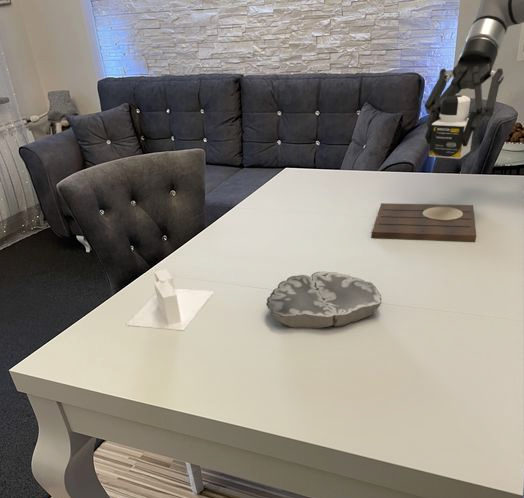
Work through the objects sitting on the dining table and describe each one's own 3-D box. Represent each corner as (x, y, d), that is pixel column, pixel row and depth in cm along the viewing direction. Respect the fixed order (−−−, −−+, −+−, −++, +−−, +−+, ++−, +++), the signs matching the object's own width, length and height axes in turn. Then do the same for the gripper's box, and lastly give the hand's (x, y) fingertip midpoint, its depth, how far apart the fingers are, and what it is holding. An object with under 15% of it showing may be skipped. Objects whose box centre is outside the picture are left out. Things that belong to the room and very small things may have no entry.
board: (472, 211, 130) (473, 204, 129) (475, 241, 114) (476, 234, 113) (380, 208, 136) (380, 202, 135) (371, 238, 120) (371, 230, 119)
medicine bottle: (428, 156, 120) (433, 98, 114) (439, 149, 125) (445, 93, 119) (460, 159, 117) (467, 99, 110) (470, 151, 121) (478, 93, 115)
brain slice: (358, 280, 103) (358, 266, 101) (391, 323, 89) (392, 307, 87) (258, 294, 101) (256, 280, 99) (275, 340, 86) (274, 324, 85)
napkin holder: (184, 330, 91) (179, 300, 88) (125, 325, 94) (118, 296, 91) (214, 291, 103) (211, 263, 100) (161, 287, 106) (156, 260, 103)
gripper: (530, 60, 116) (494, 154, 114) (439, 61, 127) (406, 148, 125) (528, 34, 110) (491, 133, 108) (433, 37, 121) (397, 128, 119)
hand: (445, 141), depth 117 cm, fingers closed on medicine bottle, 7 cm apart
